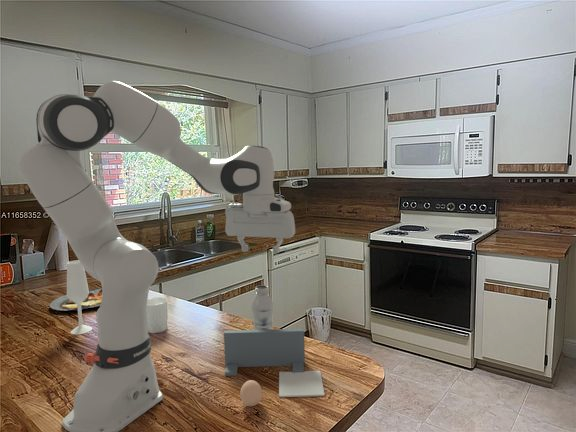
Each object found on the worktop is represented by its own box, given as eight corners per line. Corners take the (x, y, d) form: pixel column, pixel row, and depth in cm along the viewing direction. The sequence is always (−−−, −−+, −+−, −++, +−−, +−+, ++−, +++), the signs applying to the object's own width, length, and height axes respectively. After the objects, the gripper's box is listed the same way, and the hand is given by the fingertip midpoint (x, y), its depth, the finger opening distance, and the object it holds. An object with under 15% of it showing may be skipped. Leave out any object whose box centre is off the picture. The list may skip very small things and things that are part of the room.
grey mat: (324, 396, 98) (324, 394, 98) (279, 397, 98) (278, 395, 97) (320, 372, 109) (320, 370, 109) (279, 373, 108) (279, 371, 108)
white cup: (173, 328, 139) (171, 300, 137) (152, 336, 133) (150, 307, 132) (161, 322, 144) (159, 295, 143) (140, 329, 138) (138, 301, 137)
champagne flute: (83, 335, 135) (76, 265, 131) (65, 333, 136) (58, 264, 133) (96, 326, 141) (90, 259, 138) (79, 325, 143) (73, 259, 139)
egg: (245, 396, 98) (244, 374, 97) (265, 400, 97) (264, 377, 96) (237, 409, 93) (236, 385, 92) (257, 412, 92) (256, 388, 91)
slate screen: (305, 373, 108) (305, 338, 107) (223, 375, 108) (221, 340, 106) (304, 362, 114) (303, 328, 113) (226, 364, 114) (224, 330, 112)
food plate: (121, 290, 181) (120, 282, 180) (117, 308, 159) (116, 300, 158) (58, 298, 173) (57, 291, 172) (44, 319, 151) (43, 310, 151)
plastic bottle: (262, 345, 125) (260, 282, 122) (279, 351, 121) (277, 286, 118) (247, 352, 120) (245, 287, 117) (264, 359, 116) (262, 292, 113)
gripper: (220, 204, 114) (222, 252, 116) (290, 205, 108) (291, 256, 110) (229, 202, 120) (231, 248, 122) (296, 203, 114) (297, 251, 116)
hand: (260, 252), depth 116 cm, fingers open, 8 cm apart
